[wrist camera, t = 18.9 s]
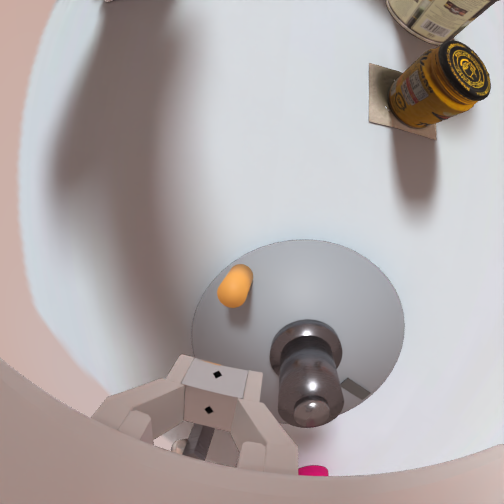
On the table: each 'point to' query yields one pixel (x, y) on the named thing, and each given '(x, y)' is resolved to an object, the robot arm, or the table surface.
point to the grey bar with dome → (195, 442)
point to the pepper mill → (313, 471)
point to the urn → (307, 373)
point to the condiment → (428, 89)
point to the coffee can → (436, 16)
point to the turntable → (302, 313)
